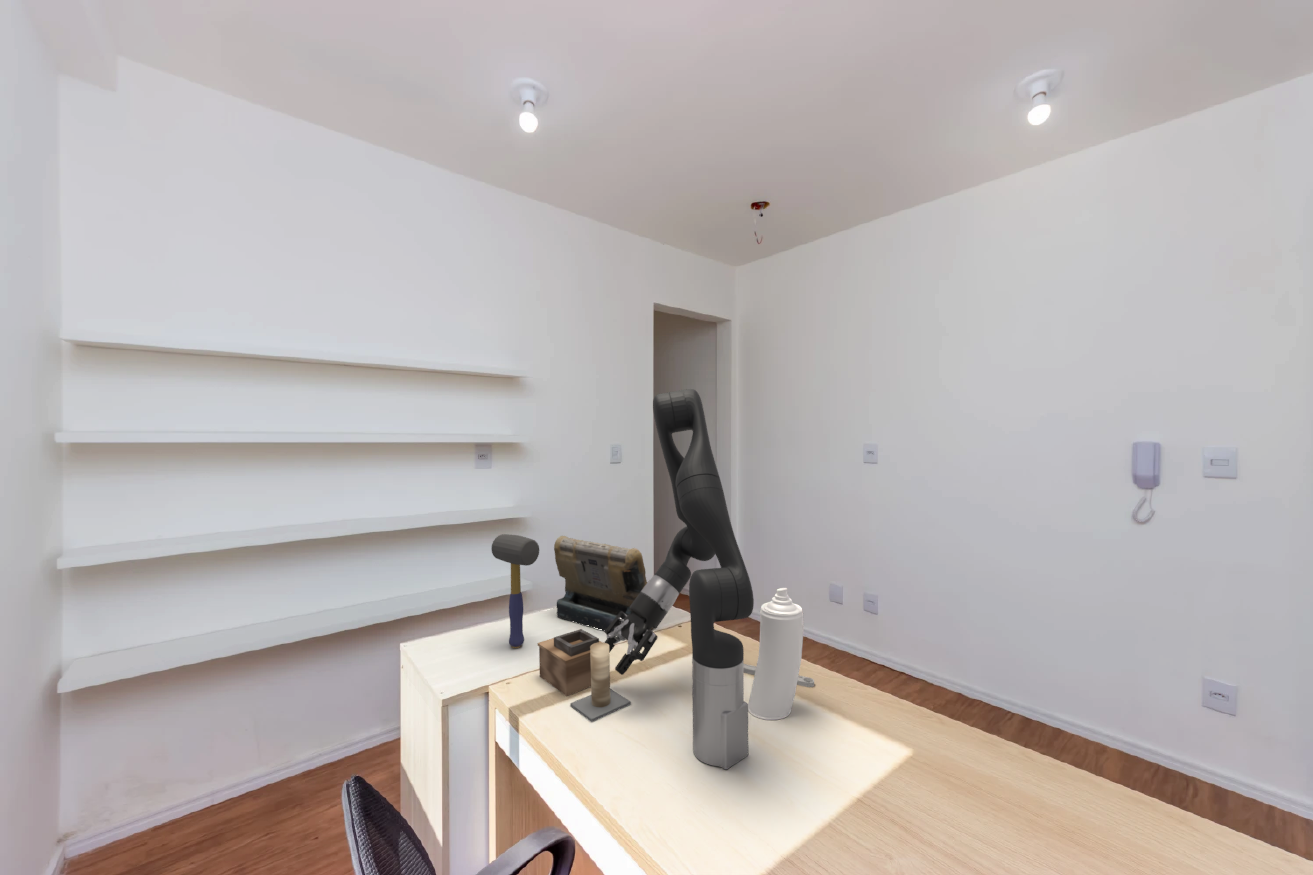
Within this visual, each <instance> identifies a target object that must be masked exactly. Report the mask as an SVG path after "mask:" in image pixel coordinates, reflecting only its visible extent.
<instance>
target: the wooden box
mask: <svg viewBox="0 0 1313 875" xmlns="http://www.w3.org/2000/svg"><path fill="white" fill-rule="evenodd" d="M598 642H602V641H600V637H597V636H595V635H594V634H592V633H590V632H588V631H586V630H584V629H582V628H580V629H576V630H574V631H571V632H567V633H564V634H560V635H558V636H554V637H553V638H548V639H546V640H543V641H539V642H537V646H538V648H539V649H538V650H539V652H538V654H539V656H538V659H539V663H538V664H539V677H540V678H541V679H543V680H544V681H545V682H547V683H548V685H550V686H552V688H555V689H556V690H558V691H559V692H560V693H561V694H563V695H564V696H566V697H568V696H571V695H573V694H576V693H578V692H580V691H583V690H586V689H588V688H591V658H590V646H591V645H592V644H594V643H598Z"/></svg>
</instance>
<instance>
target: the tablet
mask: <svg viewBox="0 0 1313 875" xmlns="http://www.w3.org/2000/svg"><path fill="white" fill-rule="evenodd" d="M553 550H554V559H555V564H556V566H557V567H556V568H557V571H558V575H559V577H562V578H563V579H565V580H564V582H565V583H564V584H565V586H564V592H565V594H564V596H563V597H561V598H559V599H557V600H556V611H557V612H556V616H557V618H561V619H564V620H566V621H569V620H570V622H572V621H574V622H573V623H575V622H577V623H576V624H579V623H580V624H579V625H582V624H583V625H582V626H585V625H589V626H592V627H595V628H598V629H602V630H606V629H607V628H608V626H609V625H610V624H611V623H612V621H613V620H614V619H615V618H616V616H617V615H618V614H619V613H620V612H621V611H622V612H624V613H625V614H626V615H627V616H628V615H629V614H630V613H631V610H630V605H631V604H632V603H633V601H634V600H635V599H636V597H637V596H638V595H639V593H640V592H641V591H642V589H643V588H644V586H645V585H646V584H647V582H648V581H647V577H646V568H645V564H644V559H643V555H642V552H641V551H640V550H639V549H638V548H635V547H632V548H628V547H619V546H617V545H610V544H608V543H607V544H606V543H599V542H593V541H587V540H583V539H576V538H573V537H568V536H567V535H560V536H559V537H557V538H556V540H555V542H554V547H553ZM595 628H594V629H595ZM614 628H616V626H615V627H614ZM614 628H613V629H612V630H611V631H614ZM598 629H597V630H598ZM653 630H654V628H651V631H653ZM621 631H622V630H621Z"/></svg>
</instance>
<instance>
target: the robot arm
mask: <svg viewBox="0 0 1313 875" xmlns="http://www.w3.org/2000/svg"><path fill="white" fill-rule="evenodd" d="M702 402H703V401H702V398H701V396H700V393H698V391H697V390H696V389H694V388H688V389H687V388H686V389H681V390H674V391H669V392H663V393H658V394H656V395H655V396H654V397H653V399H652V411H653V419H654V422H655V426H656V431H657V435H658V439H659V444H660V447H661V450H662V454H663V457H664V461H665V465H666V468H667V472H668V474H669V479H670V482H671V487H672V494H673V499H674V506H675V513H676V515H677V517H678V519H679V520H680V521H681V522H683V523H684V525H686V526H684V527H683V528H681V529H680V530H679V531H678V532H677V533H676V534H675V536H674V538H673V540H672V542H671V544H670V547H669V550H668V551H667V555H666V557H665V560H664V561H663V563H662V564H661V565H660V566H659V568H658V569H657V571H656V572H655V573H654V575H653V576H652V577H651V578H650V579H649V580H648V581H647V584H646V585H645V586H644V588H643V589H642V591H641V592H640V593H639V595H638V596H637V597H636V599H635V600H634V601H633V603H632V604H631V605H630V610H631V613H630V614H629V615H628V616H627V615H626V614H625V613H624V612H622V611H621V612H620V613H619V614H618V615H617V616H616V618H615V619H614V620H613V621H612V623H611V624H610V625H609V626H608V628H607V629H606V630H605V631H604V633H605V634H606V640H605V641H603V642H604V643H607V644H609V654H610V653H611V652H612V650H613V649H614V648H615V646H616V644H618V643H620V642H622V641H623V642H624V641H627V645H628V647H627V650H626V653H625V652H624V654H623V656H622V657H621V659H620V660H619V661H618V663H617V664H616V665H615V668H614V669H615V671H616V672H617V673H618V674H619V675H621V676H623V675H625V673H626V672H627V671H628V670H629V668H630V667H631V666H632V664H633V662H634V661H638V660H639V661H641V662H642V661H644V660H645V658H646V657H647V655H648V654H649V652H650V651H651V649H652V648H653V646H654V644H655V643H656V642H657V640H658V635H657V634H656V633H655V632H654V631H653V630H654V629H658V626H660V624H661V622H662V621H663V620H664V618H665V617H666V615H667V614H668V612H669V611H670V610H671V608H672V606H673V605H674V604H675V602H676V601H677V598H678V597H679V595H680V593H681V592H682V591H683V589H684V588H685V587H686V585H687V584H688V582H689V584H688V592H689V594H688V595H689V597H688V598H689V610H690V611H689V612H690V613H689V614H690V637H691V651H692V653H691V655H692V656H691V658H692V659H691V662H692V668H691V670H692V672H691V674H692V675H691V676H692V678H691V679H692V685H691V688H692V690H691V691H692V694H691V695H692V751H693V754H694V755H695V757H696V758H697V759H698V760H699V761H701V762H702V763H705V764H707V765H710V766H713V767H721V768H722V769H724V770H728V769H729V768H731V767H732V766H734V765H735V764H737V763H738V762H740V761H741V760H743V759H744V758H746V757H748V756H749V711H748V702H746V701H744V699H745V698H744V697H745V696H744V690H745V688H744V686H745V684H744V683H745V682H744V677H745V676H744V674H745V673H744V664H745V663H744V656H745V654H744V652H745V651H744V645H743V642H742V641H741V640H740V639H739V638H738V637H736V635H733V634H731V633H727V632H724V631H720V630H717V629H715V626H714V625H715V623H718V622H725V621H727V622H728V621H735V620H737V621H738V620H742V619H747V618H749V617H750V616H751V615H752V614H753V611H754V604H755V602H754V601H755V600H754V593H753V592H754V591H753V587H752V582H751V579H750V576H749V573H748V570H747V568H746V565H745V562H744V559H743V555H742V553H741V550H740V548H739V545H738V542H737V539H736V535H735V533H734V529H733V525H732V522H731V518H730V515H729V510H728V505H727V503H726V502H727V500H726V498H725V497H726V496H725V492H724V488H723V485H722V482H721V478H720V474H719V471H718V468H717V467H718V466H717V464H716V461H715V457H714V454H713V451H712V446H711V442H710V437H709V431H708V427H707V420H706V416H705V411H704V405H703V403H702ZM685 431H692V434H691V435H692V436H691V440H690V443H689V447H688V450H687V452H686V454H685V455H684V456H683V455H682V454H681V452H680V451H679V449H678V447H677V446H676V443H675V442H674V438H673V434H675V433H681V432H685ZM715 555H716V559H717V560H718V563H719V565H720V567H716V568H715V567H714V568H704V569H697V570H695V571H693V572H691V569H690V567H688V563H689V561H690V559H691V558H692V559H695V560H697V561H701V562H707V561H710V560H712V559H713V558H714V556H715ZM615 626H616V628H614V627H615ZM613 628H614V631H611V630H612V629H613ZM651 628H654V629H653V630H652V631H651ZM621 630H622V631H621ZM642 649H643V650H642Z"/></svg>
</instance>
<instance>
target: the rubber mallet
mask: <svg viewBox="0 0 1313 875" xmlns="http://www.w3.org/2000/svg"><path fill="white" fill-rule="evenodd" d="M491 554H492V556H493V557H494V558H495V559H497V560H499V561H503V562H505V563H508V564H510V594H509V600H508V601H509V602H508V616H509V639H508V643H509V646H510V648H512V649H519V648H522V647H523V644H524V642H525V635H524V632H523V631H524V629H523V627H524V626H523V619H524V618H523V617H524V600H523V592H522V590H521V588H522V586H521V582H522V581H521V566H524V567H525V566H531V565H533V564H534V563H535V562H536V561H537V559H538V558H539V555H540V546H539V543H538V542H537V541H536V540H535V539H533V538H529V537H525V536H522V535H519V534H518V535H517V534H508V533H507V534H505V533H503V534H499V535H497V536H496V537H495V538H494V539H493V541H492V543H491Z"/></svg>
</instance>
